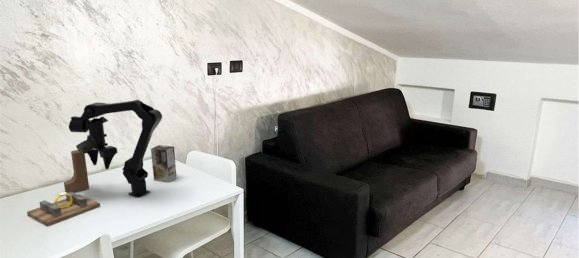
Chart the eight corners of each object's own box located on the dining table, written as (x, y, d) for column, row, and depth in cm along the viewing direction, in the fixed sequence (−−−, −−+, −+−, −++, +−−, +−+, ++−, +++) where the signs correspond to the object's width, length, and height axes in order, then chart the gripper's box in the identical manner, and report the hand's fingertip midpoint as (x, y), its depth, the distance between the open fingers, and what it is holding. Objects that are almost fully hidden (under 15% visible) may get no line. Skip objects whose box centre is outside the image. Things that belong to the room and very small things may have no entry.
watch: (71, 204, 154) (70, 190, 153) (73, 206, 152) (72, 192, 151) (54, 208, 149) (53, 194, 148) (57, 210, 148) (56, 196, 147)
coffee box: (177, 177, 186) (174, 146, 183) (169, 182, 180) (166, 150, 177) (161, 175, 189) (159, 144, 186) (153, 180, 183) (150, 148, 180)
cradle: (100, 206, 155) (98, 196, 154) (47, 226, 139) (46, 215, 138) (79, 197, 163) (77, 187, 162) (27, 215, 147) (25, 204, 146)
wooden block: (67, 194, 167) (61, 155, 163) (64, 191, 170) (59, 152, 166) (89, 188, 173) (84, 151, 169) (86, 186, 176) (81, 148, 172)
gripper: (65, 133, 161) (70, 168, 164) (90, 139, 151) (95, 176, 154) (91, 128, 170) (95, 161, 173) (116, 134, 160) (120, 169, 163)
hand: (100, 167), depth 166 cm, fingers open, 9 cm apart
